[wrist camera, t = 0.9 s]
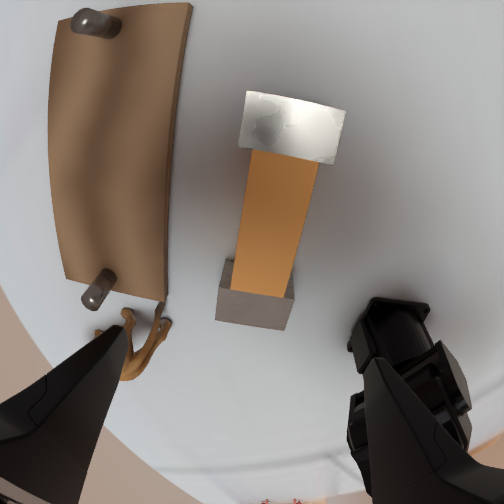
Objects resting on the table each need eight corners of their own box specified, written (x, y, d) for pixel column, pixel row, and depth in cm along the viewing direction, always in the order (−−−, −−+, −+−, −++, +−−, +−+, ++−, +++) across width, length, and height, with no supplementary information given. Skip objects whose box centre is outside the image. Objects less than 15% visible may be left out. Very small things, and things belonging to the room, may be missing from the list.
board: (193, 6, 13) (170, -16, 9) (167, 294, 24) (151, 332, 20) (66, 22, 12) (27, 16, 9) (71, 272, 24) (46, 302, 20)
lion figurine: (119, 367, 31) (94, 428, 23) (83, 342, 29) (51, 401, 21) (187, 313, 25) (160, 399, 17) (139, 276, 23) (93, 357, 16)
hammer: (332, 107, 16) (345, 111, 13) (283, 299, 24) (284, 330, 21) (251, 91, 16) (247, 90, 13) (221, 290, 23) (214, 320, 20)
